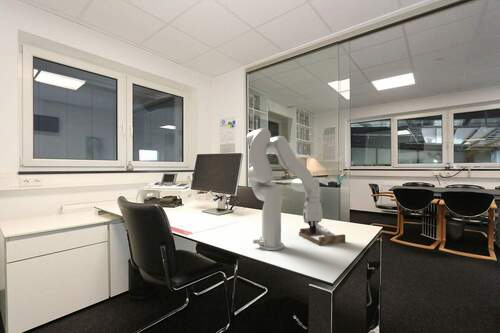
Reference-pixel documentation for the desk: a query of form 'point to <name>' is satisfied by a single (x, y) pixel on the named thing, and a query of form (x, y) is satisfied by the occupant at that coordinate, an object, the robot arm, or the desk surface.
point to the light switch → (323, 230)
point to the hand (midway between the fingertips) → (312, 232)
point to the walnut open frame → (322, 240)
